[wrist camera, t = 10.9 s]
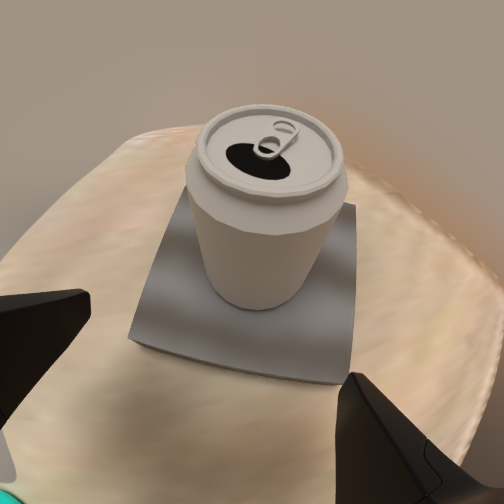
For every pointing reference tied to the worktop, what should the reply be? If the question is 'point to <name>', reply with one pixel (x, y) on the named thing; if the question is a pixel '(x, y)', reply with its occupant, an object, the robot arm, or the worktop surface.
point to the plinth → (251, 310)
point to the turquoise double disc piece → (7, 498)
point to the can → (263, 200)
